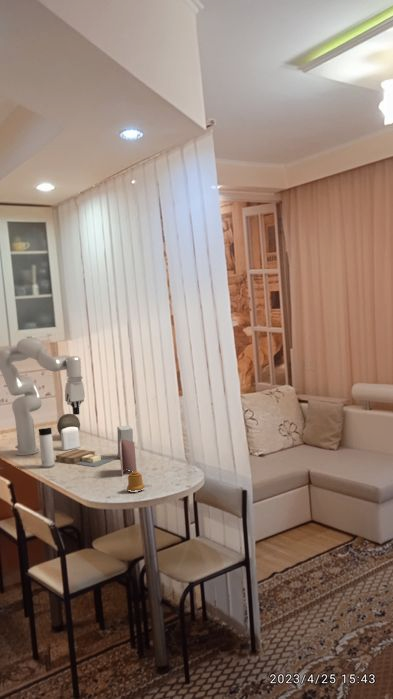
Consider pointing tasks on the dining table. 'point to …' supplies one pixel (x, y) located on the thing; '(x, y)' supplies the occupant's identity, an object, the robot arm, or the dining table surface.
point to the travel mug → (46, 448)
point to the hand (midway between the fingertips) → (76, 414)
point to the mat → (98, 463)
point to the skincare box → (124, 435)
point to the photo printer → (70, 438)
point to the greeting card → (127, 455)
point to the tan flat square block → (73, 456)
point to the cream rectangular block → (91, 458)
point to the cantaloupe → (68, 422)
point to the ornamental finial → (135, 481)
